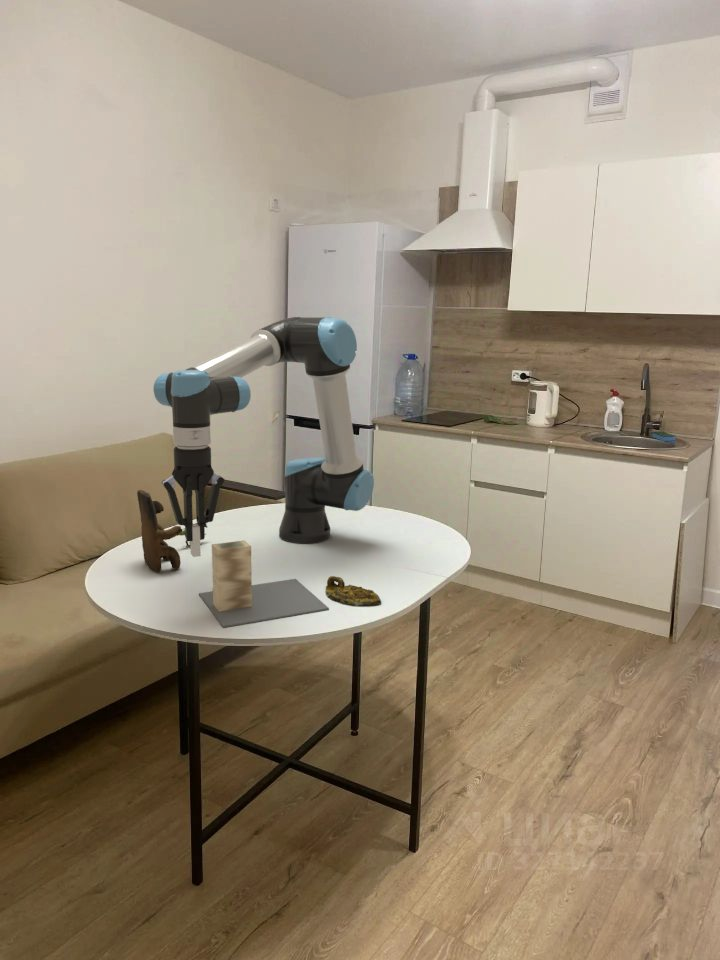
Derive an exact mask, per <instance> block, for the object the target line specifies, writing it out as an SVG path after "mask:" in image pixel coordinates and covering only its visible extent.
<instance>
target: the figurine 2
mask: <svg viewBox="0 0 720 960" xmlns="http://www.w3.org/2000/svg"><path fill="white" fill-rule="evenodd" d="M196 523H197V522H195V523H194V524H196ZM207 524H208V523H206V525H205V526H204V528H208V525H207ZM206 535H207V533H205V536H206ZM178 536H185V529H183V530H182V532H181V533H179V534H178V535H177V536H176V537H178ZM185 544H186V547H188V546H189V547H190V541H187V540H186V539H185ZM200 546H203V543H200Z"/></svg>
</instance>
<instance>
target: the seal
mask: <svg viewBox="0 0 720 960" xmlns="http://www.w3.org/2000/svg"><path fill="white" fill-rule="evenodd" d="M326 581H327V582H326V586H325V589H324V591H325V592H324V594H325V596H326V597H327V598H328V599H329V600H331V601H332V602H335V603H339V604H342V605H346V606H351V607H375V606H378V605H380V604H382V600H381V597H380V596H379V595H378V594H377V593H376V592H375V591H374V590H373V589H367V588H363V587H362V586H356V585H351V584H348V585H345V581H344V579H343V578H342V577H340V576H334V575H333V576H332V575H331V576H329V577H328V578H327V580H326Z"/></svg>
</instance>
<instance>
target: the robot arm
mask: <svg viewBox="0 0 720 960" xmlns="http://www.w3.org/2000/svg"><path fill="white" fill-rule="evenodd" d="M357 344H358V343H357V338H356V335H355V331H354V330H353V328H352V326H351V324H349V323H347V320H346V321H345V320H344V319H341V318H333V317H330V316H327V317H312V316H311V317H306V316H305V317H300V316H294V317H293V316H291V317H287V318H283V319H281V320H278V321H275V322H273V323H271V324H268V325H266V326H264V327H262V328H259V329H258V330H256V331H254V332H253V333H252V334H251V335H250V338H247V340H244V341H242V342H240V343H237V344H236V345H233V346H232V347H230V348H228V349H226V350H224V351H222V352H219V353H217V354H215V355H213V356H211V357H209V358H206V359H204V360H203V361H201V362H198V363H197V364H195V365H193V366H190V367H189V368H186V369H182V370H176V371H174V372H163V373H161V374H160V375H158V376H157V377H156V379H155V380H154V383H153V395H154V398H155V399H156V401H157V402H158V403H159V404H161V405H162V406H166V407H171V411H172V412H171V413H172V433H173V434H172V435H173V439H172V441H173V443H172V444H173V445H174V446H175V447H174V448H173V470H172V473H171V475H170V476H169V477H168V478H167V479H162V481H161V485H162V486H163V488H165V490H166V492H167V496H168V499H169V503H170V505H171V509H172V511H173V515H174V519H175V521H176V523H177V524H178V526H184V530H185V535H184V537H185V541H186V540H187V541H188V542H190V543H189V545H190V546H189V549H190V555H192V557H193V558H196V557H197V558H198V557H201V556H202V554H201V551H202V550H201V545H200V544H201V541H203V540H205V537H206V535H205V534H206V533H205V528H206V527H204V526H205V525H206V524H208V523H212V522H213V521H214V517H215V512H216V508H217V504H218V499H219V494H220V490H221V487H222V486H223V484H224V482H225V478H224V477H222V476H221V475H220V474H219V475H218V474H216V473H215V471H214V468H213V467H212V448H211V447H210V446H209V445H210V444H211V441H212V440H211V416H212V415H216V414H217V415H218V414H226V413H235V412H237V411H241V410H244V409H246V408H247V407H248V405H249V404H250V402H251V401H250V400H251V388H250V385H249V384H248V382H247V381H246V380H245V379H244V378H243V377H245V376H247V375H249V374H252V373H253V372H254V371H257V370H259V369H260V368H262V367H263V366H265V367H272V366H275V365H277V364H280V363H300V364H301V363H302V364H304V368H305V374H306V376H308V377H309V378H311V379H312V382H313V389H314V395H315V401H316V408H317V415H318V420H319V426H320V433H321V439H322V446H323V451H324V452H323V453H324V457H320V456H319V457H318V456H317V457H305V458H303V457H302V458H297V459H292V460H290V461H288V462H287V463H286V464H285V468H284V469H285V470H284V475H283V476H284V504H285V505H284V507H285V508H284V512H283V517H282V519H281V522H280V526H279V527H278V528H279V530H278V536H279V538H280V539H281V540H283V541H284V542H289V543H296V544H314V543H319V542H325V541H327V540H328V539H330V538H331V526H330V523H329V519H328V517H327V513H326V507H330V508H336V509H342V510H345V511H354V512H358V511H361V510H363V509H364V508H365V507H366V506H367V505H368V503H369V501H370V500H371V497H372V495H373V491H374V485H375V479H374V475H373V473H372V472H371V471H369V470H367V469H364V461H363V459H362V458H361V457H360V456H358V455H357V451H356V444H355V436H354V435H355V434H354V429H353V422H352V414H351V408H350V407H351V406H350V399H349V398H350V397H349V393H348V392H349V391H348V384H347V378H346V377H347V373H348V372H349V370H350V369H351V364H352V363H353V362H354V360H355V358H356V356H357V353H356V351H357V349H358V348H357V347H358V345H357ZM175 482H176V483H177V484H178V485H179V487H180V488H181V489H182V493H183V494H182V495H183V513H182V510H181V507H180V502H179V499H178V497H177V493H176V491H175V489H174V488H175V487H176V483H175ZM210 482H211V487H210V489H209V490H210V491H209V494H208V495H209V496H208V500H207V504H206V506H205V494H206V493H205V492H206V491H205V488H206V486H207V485H208V484H209V483H210ZM193 491H194V492H195V510H196V511H195V513H196V514H195V515H196V516H195V517H196V522H195V523H196V524H195V523H193V517H194V516H193ZM205 507H206V508H205Z"/></svg>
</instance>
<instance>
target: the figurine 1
mask: <svg viewBox="0 0 720 960" xmlns="http://www.w3.org/2000/svg"><path fill="white" fill-rule="evenodd" d="M136 495H137V501H138V506H139V507H138V508H139V513H140V523H141V541H142V542H141V543H142V551H143V559H144V562H145V565H146V566H147V567H148V568H149V569H151V570H153V571H154V572H156V573H160V572H161V571H162V559H163V561H169V562H170V565H171V569H173V570H178V569H180V568H181V556H180V553H179V552H178V550H177V549H176V548H175V547H173V546H170V545H169V544H168V543H167V542H166V541H167V540H170V539H173V538H175V537H178V536H179V535H178V534H179V533H181V532H182V531H183V528H182V527H181V526H182V525H175V526H173V527H171V528H169V529H166V530H165V529H164V528H163V526H161V525H160V524H159V523H158V518H157V514H161V513H162V512H164V505H163V504H162V503H161V502H160V501H158V500H153V499H152V497H151V494H150V492H147V491H145V490H143V489H139V490H137V494H136ZM177 535H178V536H177Z"/></svg>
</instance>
